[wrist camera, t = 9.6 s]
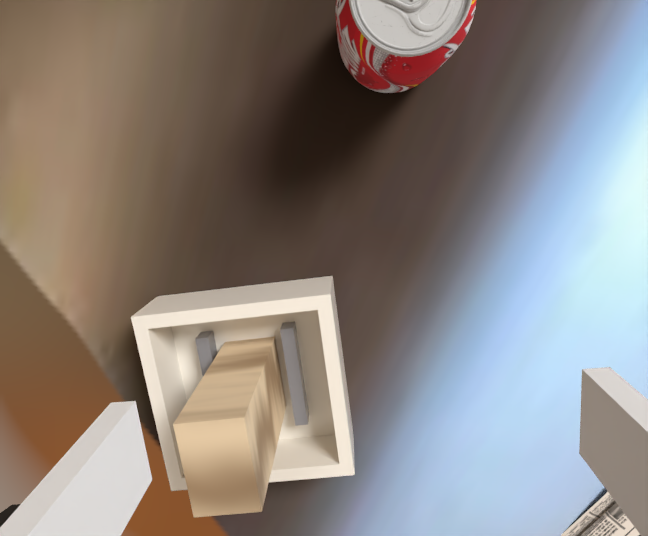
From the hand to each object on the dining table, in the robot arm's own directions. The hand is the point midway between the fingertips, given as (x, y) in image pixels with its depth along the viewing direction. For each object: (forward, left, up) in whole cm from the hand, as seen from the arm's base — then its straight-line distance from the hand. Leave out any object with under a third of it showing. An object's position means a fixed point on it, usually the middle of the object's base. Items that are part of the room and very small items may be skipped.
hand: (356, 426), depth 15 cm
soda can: (-15, +5, -24) cm, 29 cm away
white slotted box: (+8, -8, -24) cm, 27 cm away
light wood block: (+8, -8, -23) cm, 26 cm away
